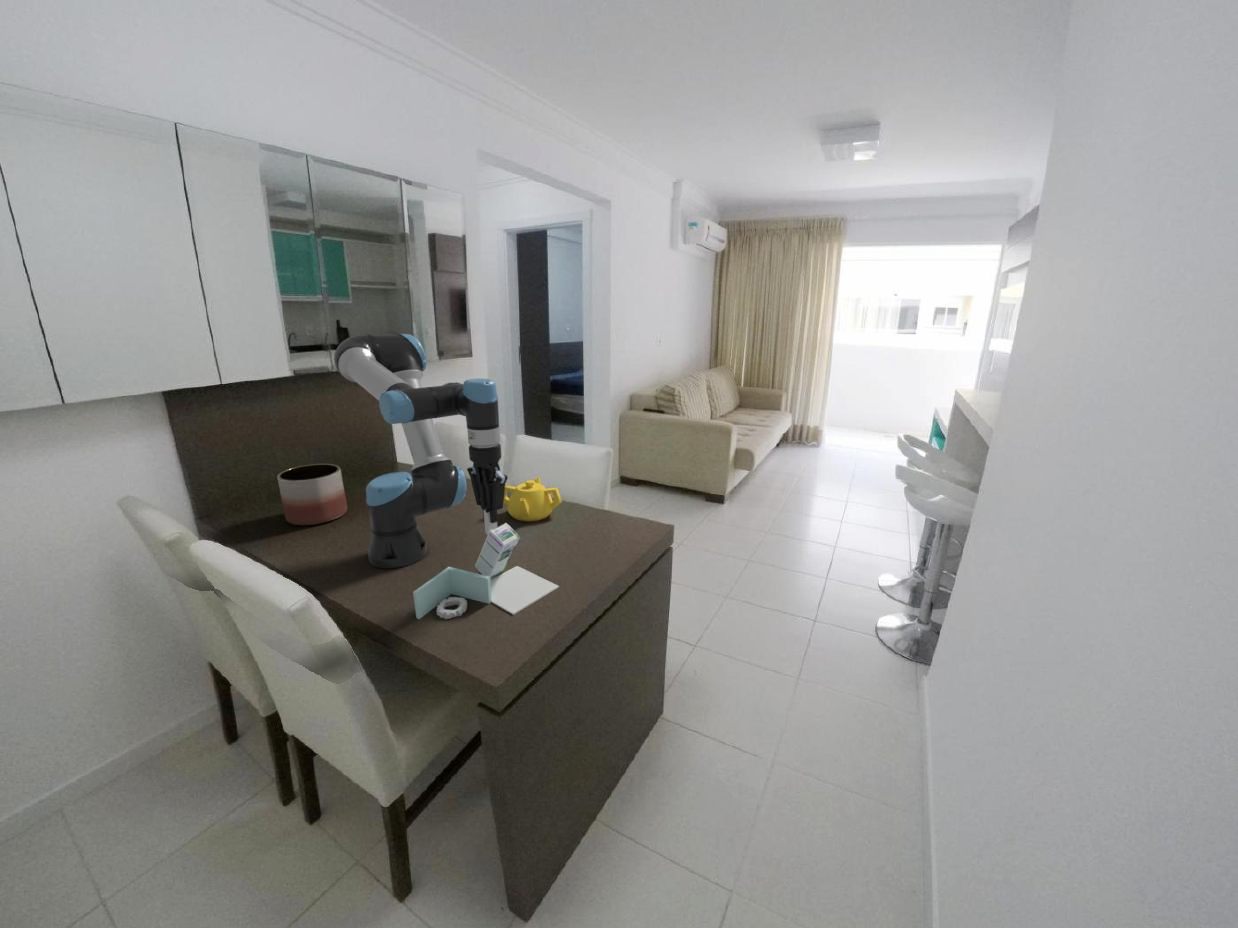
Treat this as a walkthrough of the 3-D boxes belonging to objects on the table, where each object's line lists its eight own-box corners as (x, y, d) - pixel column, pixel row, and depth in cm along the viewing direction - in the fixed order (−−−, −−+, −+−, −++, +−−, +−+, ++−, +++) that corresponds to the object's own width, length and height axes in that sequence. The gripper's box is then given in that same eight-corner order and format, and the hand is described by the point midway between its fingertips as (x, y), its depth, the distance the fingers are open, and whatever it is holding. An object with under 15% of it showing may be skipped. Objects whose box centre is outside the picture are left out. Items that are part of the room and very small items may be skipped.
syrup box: (488, 581, 125) (505, 546, 118) (473, 565, 127) (489, 529, 119) (504, 571, 130) (521, 536, 122) (489, 556, 131) (506, 521, 124)
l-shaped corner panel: (416, 620, 110) (413, 591, 108) (451, 592, 121) (448, 566, 119) (460, 633, 106) (457, 603, 104) (492, 603, 117) (490, 576, 115)
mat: (471, 590, 121) (471, 589, 121) (517, 567, 132) (517, 565, 132) (513, 615, 112) (513, 613, 112) (559, 587, 123) (559, 586, 123)
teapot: (564, 515, 165) (564, 483, 162) (521, 528, 155) (519, 494, 152) (539, 501, 178) (538, 470, 174) (497, 512, 167) (495, 479, 164)
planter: (291, 532, 150) (281, 485, 145) (282, 514, 162) (272, 470, 157) (354, 517, 161) (346, 473, 156) (340, 501, 174) (333, 460, 169)
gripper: (455, 442, 117) (463, 530, 124) (488, 452, 110) (496, 545, 117) (480, 436, 123) (487, 521, 130) (514, 445, 115) (519, 534, 123)
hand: (491, 532), depth 124 cm, fingers closed
